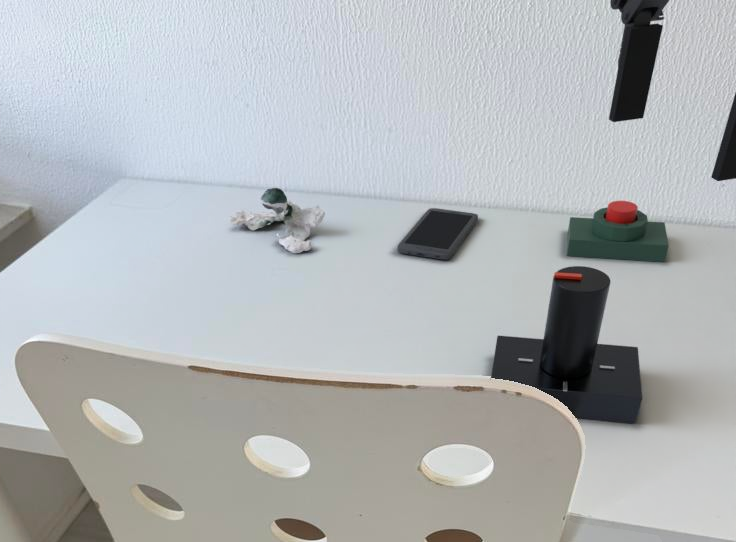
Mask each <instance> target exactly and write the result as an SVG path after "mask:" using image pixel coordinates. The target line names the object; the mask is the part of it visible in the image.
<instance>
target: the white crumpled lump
mask: <svg viewBox="0 0 736 542" xmlns="http://www.w3.org/2000/svg"><path fill="white" fill-rule="evenodd" d="M260 203H261V204H262V206H263V207H264V208H265V209H267V210H273V211H271V212H265V211H264V212H261V213H256V212H254V213H253V212H251V211H249V212H245V211H244V210H241V211H238V212H235V214H234V216H231V215H230V216H229V217H228V219H229V221H230V223H232V225H234V226H236V227H238V226H241V225H245V226H246V227H247V228H248V230H251V231H256V230H258V229H259V228H260V229H261V228H262V229H263V227H265V226H269V225H271V224H272V223H274V222H281V221H282V222H283V223H284V225H285V226H286V229H285V231H284V234H285V237H282V235H281V233H276V237H277V238H279V239H278V244H279V245H281V246H283V247H284V250H287V251H288V252H290V253H291V254H299V253H302V252H303V251H305V252H306V251H307V252H308V251H310V250H311V249H312V240H311V239H308V240H307V241H306V239H307V238H308V237H309V236H310V235H311V229H310V228H317V227H318V226H319V225H320V224H321V223H322V222H323V220H324V219H325V215H326V212H325V210H322V208H320V205H319V204H316V205H314V206H313V207H307V208H303V209H302V208H301V207H300V206H299V205H298V204H295V203H293V202H292V201H291V200H288V197H287V195H286V194H285V192H284V191H283V190H282V189H281V188H278V187H272V188H267V189H266V190H265V191H264V193H263V194H262V195H261V197H260ZM282 213H283V214H282ZM281 237H282V238H281Z"/></svg>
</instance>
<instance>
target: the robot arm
mask: <svg viewBox="0 0 736 542" xmlns="http://www.w3.org/2000/svg"><path fill="white" fill-rule="evenodd" d="M669 1H670V0H610V2H609V3H610V8H611V10H614V11H615V10H618V11H619V12H620V19H621V20H620V21H621V23H622V24H623V25H624V27H623V32H622V38H621V43H620V48H619V49H620V50H619V54H618V60H617V72H616V79H615V83H614V84H615V85H614V89H613V95H612V98H611V99H612V100H611V105H610V106H611V107H610V110H609V111H610V112H609V116H608V120H609V121H610V122H612V123H618V122H624V121H632V120H640V119H644V116H645V111H646V107H647V102H648V98H649V92H650V87H651V84H652V78H653V74H654V70H655V65H656V62H657V61H656V60H657V55H658V51H659V46H660V42H661V37H662V33H663V28H664V25H663V24H660V23H651V22H658V21H664V19H665V16H664V12H663V10H664V9H665V7H666V6H667V5H668V3H669ZM728 114H729V115H728V117H727V120H726V124H725V128H724V130H723V131H724V132H723V135H722V138H721V142H720V145H719V149H718V152H717V155H716V159H715V163H714V166H713V170H712V173H711V177H710V178H711V179H713V180H715V181H716V182H722V181H728V180H735V179H736V92H735V94H734V97H733V100H732V103H731V107H730V111H729V113H728Z"/></svg>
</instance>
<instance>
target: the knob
mask: <svg viewBox="0 0 736 542" xmlns="http://www.w3.org/2000/svg"><path fill="white" fill-rule="evenodd" d="M553 274H554V275H553V276H552V277H553V278H552V284H551V290H550V296H549V302H548V308H547V315H546V321H545V328H544V334H543V339H544V340H543V346H542V352H541V358H540V364H541V367H542V368H543V369H544V370H545V371H546V372H548V373H549V374H551V375H554V376H557V377H561V378H578V377H582V376H585V375H586V374H588V373H589V372H590V371H591V369H592V366H593V362H594V357H595V352H596V348H597V344H599V343H598V342H599V338H600V333H601V328H602V324H603V319H604V315H605V310H606V306H607V302H608V301H607V300H608V295H609V292H610V288H611V287H610V286H611V282H612V281H611V278H610V276H609V275H608V274H607V273H605V272H604V271H602V270H600V269H597V268H594V267H590V266H582V265H574V266H573V265H572V266H567V267H563V268H560V269H558V270H557V271H555V272H554V273H553Z"/></svg>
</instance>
